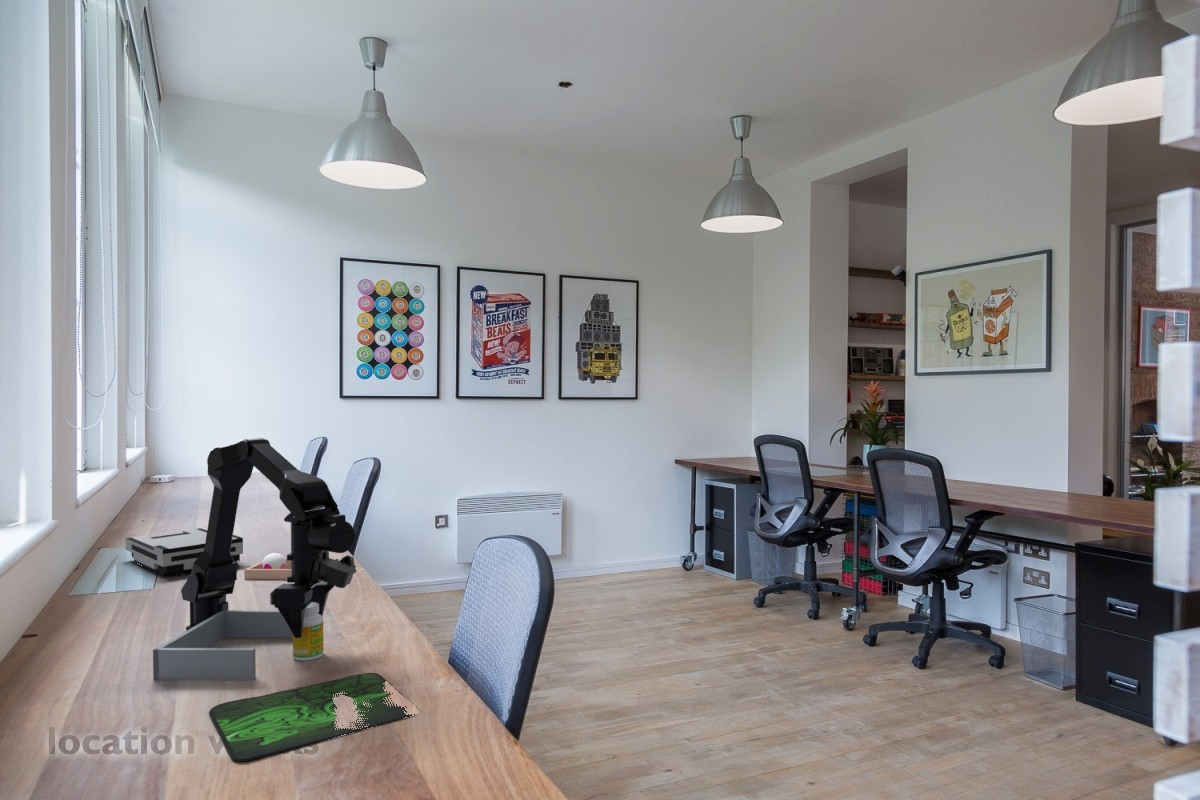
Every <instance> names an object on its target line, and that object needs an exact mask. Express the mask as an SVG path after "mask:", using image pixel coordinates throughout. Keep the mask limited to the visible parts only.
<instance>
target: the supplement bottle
mask: <svg viewBox="0 0 1200 800" xmlns="http://www.w3.org/2000/svg"><path fill="white" fill-rule="evenodd" d="M318 612H319V604H318V603H315V602H312V603H311V604H310V605H309V606H308V607H307V608H306V609H305V614H304V623H303V630H302V636H301V637H300V638H295V637H294V635H293V638H292V658H293V659H294V660H296V661H301V662H306V661H313V660H317V659H319V658H321V657H322V656H323V655H324V617H323V616H321V615H320V614H318Z"/></svg>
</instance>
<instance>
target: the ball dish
mask: <svg viewBox="0 0 1200 800" xmlns="http://www.w3.org/2000/svg"><path fill="white" fill-rule="evenodd" d="M285 559H286V567H285V569H262V568H261V563H262V561H263V560H262V561H259V562H258V563H255V564H253V565H251V566H249V567H247V568H245V569H244V570H243V571H244V573H243V574H244V580H287V577H288V576H290V575H291V560H287V558H285Z"/></svg>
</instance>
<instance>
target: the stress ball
mask: <svg viewBox="0 0 1200 800" xmlns="http://www.w3.org/2000/svg"><path fill="white" fill-rule="evenodd" d="M286 559H287V558H286V557H285V556H284V555H283V554H280V553H278V552H272V553H269V554H267V555H266V556H265V557H264V558H262V563H261V568H262V569H286V568H285V567H286Z"/></svg>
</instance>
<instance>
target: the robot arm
mask: <svg viewBox="0 0 1200 800" xmlns="http://www.w3.org/2000/svg"><path fill="white" fill-rule="evenodd" d="M206 463H207V476H208V477H209V479H210V480H211V483H212V484H213V492H212V497H211V505H210V511H209V518H208V524H207V529H206V530H207V535H206V542H205V548H204V551H203V552H202V553H201V555H200V556H199V557H198V558H197V559H196V560H195V562H194V564H193V567H192V569H191V571H190V575H189V576H188V578H187V580H186V581H185V583H184V585H183V586H182V588H181V589H180V592H181V593H180V594H181V597H182V598H181V599H182V600H183V601H186V602H189V625H187V626H185V631H187V630H189V629H191V628H192V627H194V626H196V625H198V624H199V623H201V622H203V621H205V620H206V619H208V618H210V617H212V616H214V615H215V614H217V613H219V612H221V611H229V602H228V601H227V595H232V594H233V593H234V589H235V584H236V581H237V580H238V569H239V564H238V562H237V563H236V562H235V561H234V559H233V557H232V556H231V554H230V550H231V544H232V537H233V535H234V529H235V525H236V519H237V518H236V517H237V512H238V507H239V506H238V504H239V499H240V493H241V489H242V488H243V487H244V486H245V485H246V483H248V481H249V480H250V478H251V477H252V473H253V470H254V468H256V469H257V470H258V471H259V473H261V474H262V476H264V477H265V478H266V479H267V480H268V481H269V482H271V483H272V484H273V485H274V487H276V488H277V489H278V491H279V499H280V501H281V502H282V504H283V505H284V507H285V508H286V509H287V510H288V511H289V513H288V514H287V515H286V516H285V517H284V518H283V521H284V522H286V523H290V553H288V554H286V559H287V560H291V568H290V569H291V575H290V576H288V577H287V579H286V582H287V583H282V584H281V585H279V586H277V587H276V588H274V589H273V590H272V591H271V592H270V593H269V601H270V603H269V604H270V605H271V606H274V608H275V609H277V611H280V613H281V614H282V616H283V617H284V619H285V621H286V623H287V624H288V626H289V628H290V630H291V632H292V633H293V635H294V637H295V638H300V637H301V636H302V630H303V623H304V614H305V609H306V608H307V607H308V606H309V605H310V604H311V603H312V602H315V603H318V604H319V612H318V614H320V615H321V616H322V617H323V615H324V612H325V608H326V604H327V601H328V598H329V594H330V592H331V591H332V590H333V589H334V588H335V587H336V588H339V589H346V587H347V585H350V584H351V582H352V579H353V578H354V577H353V576H354V574H356V572H357V568H356V567H357V565H355V559H354V556H350V555H348V554H346V555H344V556H343V557H342V558H341V559H338V558H335V559H333V558H330V552H331V553H336V554H344V553H346V552H348V551H349V550H350V549H351V548H352V546H353V545H354V543H355V539H356V532H355V529H354V527H353V525H352V524H351V523H350V522H348V521H346V519H347V518H346V515H345V514H341V513H340V510H339V508H338V507H339V505H338V504H337V502H336V501H335V499H334V496H333V495H332V493H331V491H330V490H331V489H329V486H328V484H327V483H326V481H325V480H324V479H322V478H320V477H319V476H316V475H315V474H313V473H307V472H304V471H301V470H300V469H298V468H297V467H296V466H294V465H293V463H291V461H288V460H287V459H286V457H285V456H283V455H282V454H281V453H280V452H279V451H278V450H276V449H275V448H274V447H273V446H271V443H270V441H269V440H268V439H265V438H264V437H263V438H261V437H259V438H258V437H257V438H246V439H243V440H241V441H238V442H237V443H234V444H230V445H227V446H219V447H215V448H213V449H211V450H210V451H209V453H208V456H207V459H206Z"/></svg>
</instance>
